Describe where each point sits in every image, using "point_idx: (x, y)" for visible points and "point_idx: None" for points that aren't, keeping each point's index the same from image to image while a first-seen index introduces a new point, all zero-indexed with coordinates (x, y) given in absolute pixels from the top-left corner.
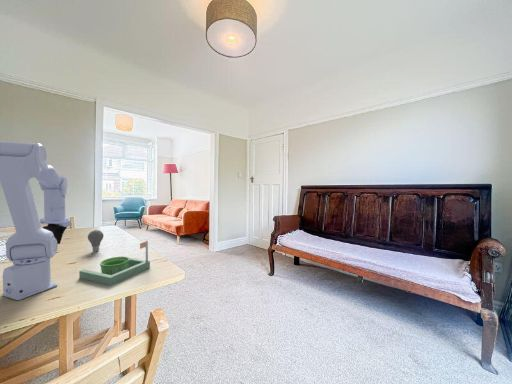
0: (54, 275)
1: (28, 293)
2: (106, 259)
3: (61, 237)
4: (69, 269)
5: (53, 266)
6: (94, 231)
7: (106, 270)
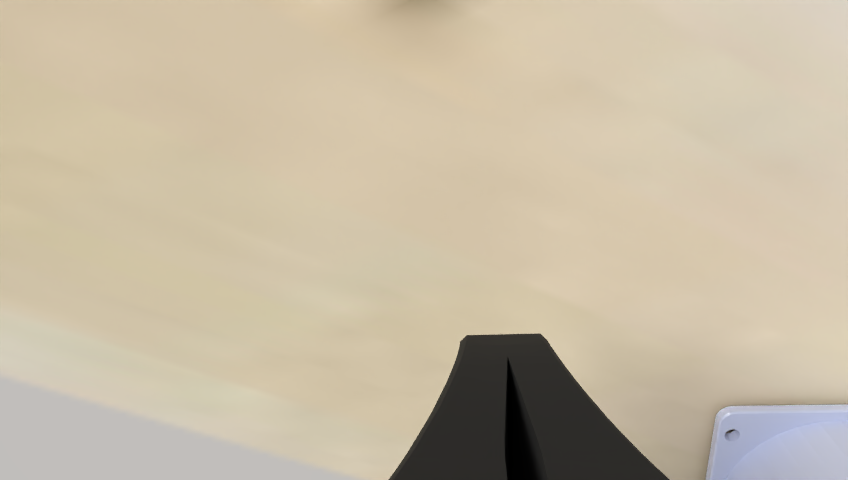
0: (657, 292)
1: None
2: None
3: (602, 417)
4: (635, 138)
5: (346, 162)
6: None
7: None
